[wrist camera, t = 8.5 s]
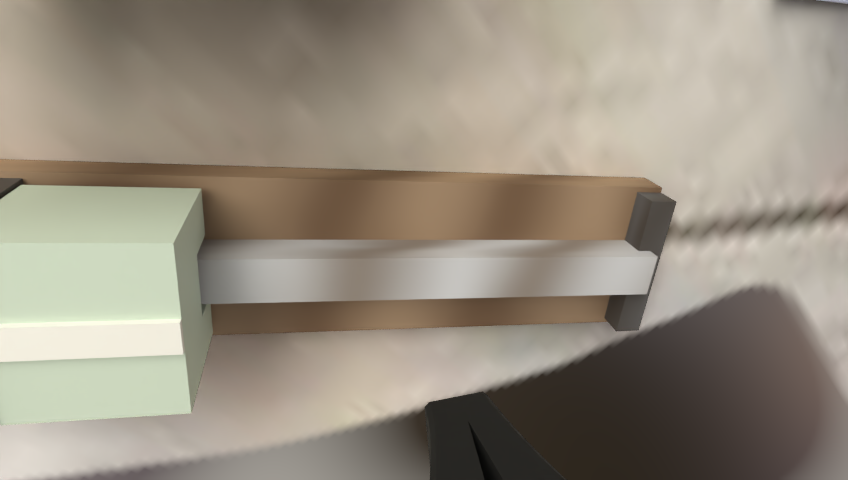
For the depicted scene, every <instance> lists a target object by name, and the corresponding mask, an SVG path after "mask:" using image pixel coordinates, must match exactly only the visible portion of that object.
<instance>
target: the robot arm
mask: <svg viewBox="0 0 848 480" xmlns="http://www.w3.org/2000/svg"><path fill="white" fill-rule="evenodd" d="M818 1H827V2H835V3H844V4H848V0H818ZM425 416H426V426H427V437H428V447H429V458H430V480H566V479H565V478H564V477H563V476H562V475H561V474H560V473H559V472H558V471H557V470H556V469H555V468H554V467H552V466H551V465H550V464H549V463H548V462H547V461H546V460H545V459H544V458H543V457H542V456H541V455H540V454H539V453H538V452H537V451H536V450H535V449H534V448H533V447H532V446H531V445H530V444H529V443H528V442H527V440H526V439H525V438H524V437H523V436H522V435H521V434H520V433H519V432H518V431H517V430H516V429H515V427H514V426H513V425H512V424H511V423H510V422H509V421H508V420H507V418H506V417H505V416H504V415H503V414H502V413H501V412H500V411H499V409H498V408H497V407H496V406H495V404H494V403H493V402H492V401H491V399H490V398H489V397H488V395H486V394H485V393H483V392H479V393H474V394H469V395H463V396H458V397H453V398H448V399H443V400H438V401H433V402H429V403H428V404H427V405H426V406H425Z"/></svg>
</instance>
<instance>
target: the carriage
mask: <svg viewBox="0 0 848 480" xmlns="http://www.w3.org/2000/svg"><path fill="white" fill-rule="evenodd" d="M204 236H205V228H204V215H203V203H202V190H201V188H153V187H104V186H54V185H20V186H19V187H17V188H16V189H14V190H13V191H11V192H10V193H9V194H7V195H6V196H4V197H3V198H1V199H0V425H14V424H30V423H46V422H62V421H78V420H94V419H109V418H125V417H141V416H157V415H173V414H189V413H192V409H193V406H194V402H195V398H196V394H197V391H198V387H199V383H200V379H201V376H202V372H203V368H204V364H205V360H206V357H207V353H208V349H209V345H210V342H211V338H212V334H213V328H212V316H211V304H201V295H200V284H199V273H198V261H197V254H198V251H199V249H200V246H201V244H202V241H203V239H204Z"/></svg>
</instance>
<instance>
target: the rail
mask: <svg viewBox="0 0 848 480" xmlns="http://www.w3.org/2000/svg"><path fill="white" fill-rule="evenodd" d="M20 185H54V186H104V187H153V188H201V190H202V203H203V215H204V228H205V236H204V239H203V241H202V244H201V246H200V249H199V251H198V254H197V261H198V273H199V284H200V295H201V304H211V316H212V328H213V334H212V335H229V334H259V333H288V332H318V331H347V330H376V329H406V328H435V327H465V326H494V325H523V324H553V323H582V322H609V324H610V325H611V326H612V327H613V328H614V329H615V330H616V331H633V330H639V326H640V323H641V320H642V316H643V313H644V310H645V306H646V303H647V299H648V296H649V293H650V289H651V286H652V283H653V279H654V276H655V272H656V269H657V266H658V262H659V259H660V256H661V252H662V249H663V245H664V242H665V239H666V235H667V232H668V229H669V225H670V222H671V218H672V215H673V212H674V208H675V205H676V201H674V200H672V199H671V198H669V197H667V196H665V195H664V194H662V193H661V190H662V188H661V187H660V186H658V185H656V184H654V183H653V182H651V181H649V180H647V179H646V178H629V177H594V176H560V175H525V174H490V173H456V172H421V171H387V170H352V169H318V168H283V167H249V166H214V165H180V164H145V163H111V162H76V161H42V160H7V159H0V199H1V198H3V197H4V196H6V195H7V194H9V193H10V192H11V191H13V190H14V189H16V188H17V187H19V186H20Z"/></svg>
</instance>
